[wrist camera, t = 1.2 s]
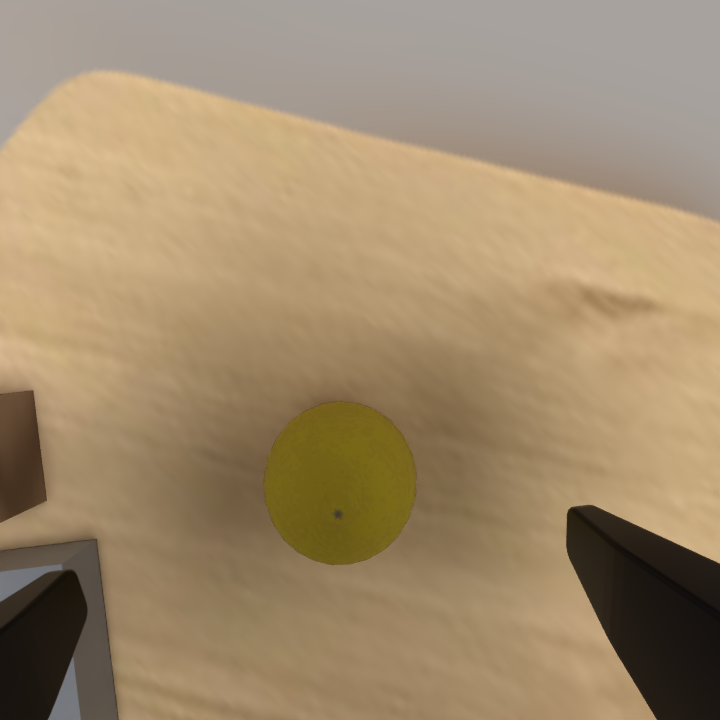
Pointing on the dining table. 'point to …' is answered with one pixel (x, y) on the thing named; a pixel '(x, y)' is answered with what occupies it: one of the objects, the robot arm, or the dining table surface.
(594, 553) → the robot arm
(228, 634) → the dining table surface
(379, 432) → the lemon
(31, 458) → the walnut block
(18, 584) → the dish
